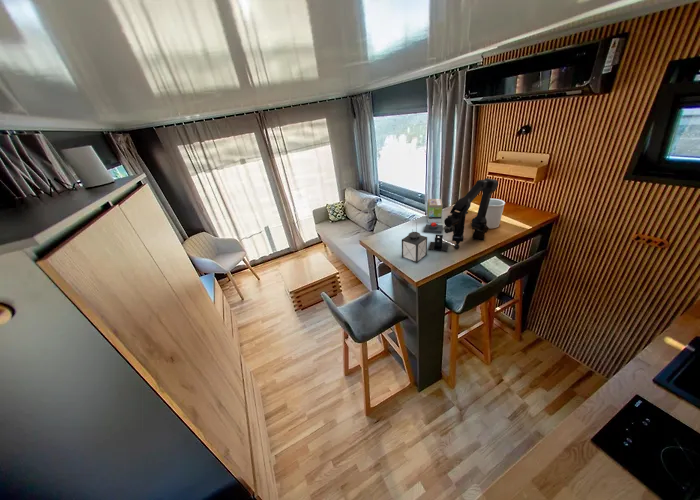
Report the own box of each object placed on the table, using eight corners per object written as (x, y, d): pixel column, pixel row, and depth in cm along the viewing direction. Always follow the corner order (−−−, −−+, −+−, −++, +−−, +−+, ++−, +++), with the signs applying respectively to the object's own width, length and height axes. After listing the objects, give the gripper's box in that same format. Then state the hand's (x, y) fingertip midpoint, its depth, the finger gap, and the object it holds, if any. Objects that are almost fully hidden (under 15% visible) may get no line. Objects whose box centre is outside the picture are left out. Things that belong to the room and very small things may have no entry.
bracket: (447, 244, 167) (448, 233, 162) (446, 252, 159) (447, 240, 155) (430, 243, 171) (431, 232, 167) (428, 250, 163) (428, 239, 159)
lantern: (416, 263, 152) (417, 221, 138) (401, 257, 160) (401, 217, 145) (426, 255, 159) (428, 214, 144) (411, 250, 166) (412, 210, 152)
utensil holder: (485, 218, 192) (488, 196, 184) (504, 224, 181) (509, 201, 172) (473, 224, 186) (476, 202, 177) (492, 230, 175) (497, 207, 166)
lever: (458, 248, 161) (460, 244, 159) (457, 250, 159) (460, 246, 157) (435, 238, 164) (438, 234, 162) (435, 241, 162) (437, 237, 160)
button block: (442, 227, 188) (442, 222, 186) (441, 233, 180) (441, 228, 178) (426, 226, 193) (426, 221, 191) (424, 232, 185) (424, 227, 183)
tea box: (441, 222, 195) (442, 204, 188) (428, 223, 198) (428, 205, 190) (439, 215, 208) (440, 197, 200) (426, 215, 210) (427, 198, 203)
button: (436, 224, 185) (436, 222, 184) (435, 226, 183) (436, 224, 182) (431, 224, 187) (431, 222, 186) (430, 226, 184) (430, 224, 183)
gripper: (446, 215, 161) (445, 236, 169) (444, 227, 147) (442, 250, 155) (465, 216, 157) (463, 237, 165) (464, 229, 142) (461, 252, 150)
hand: (457, 244), depth 159 cm, fingers closed, pressing on lever
